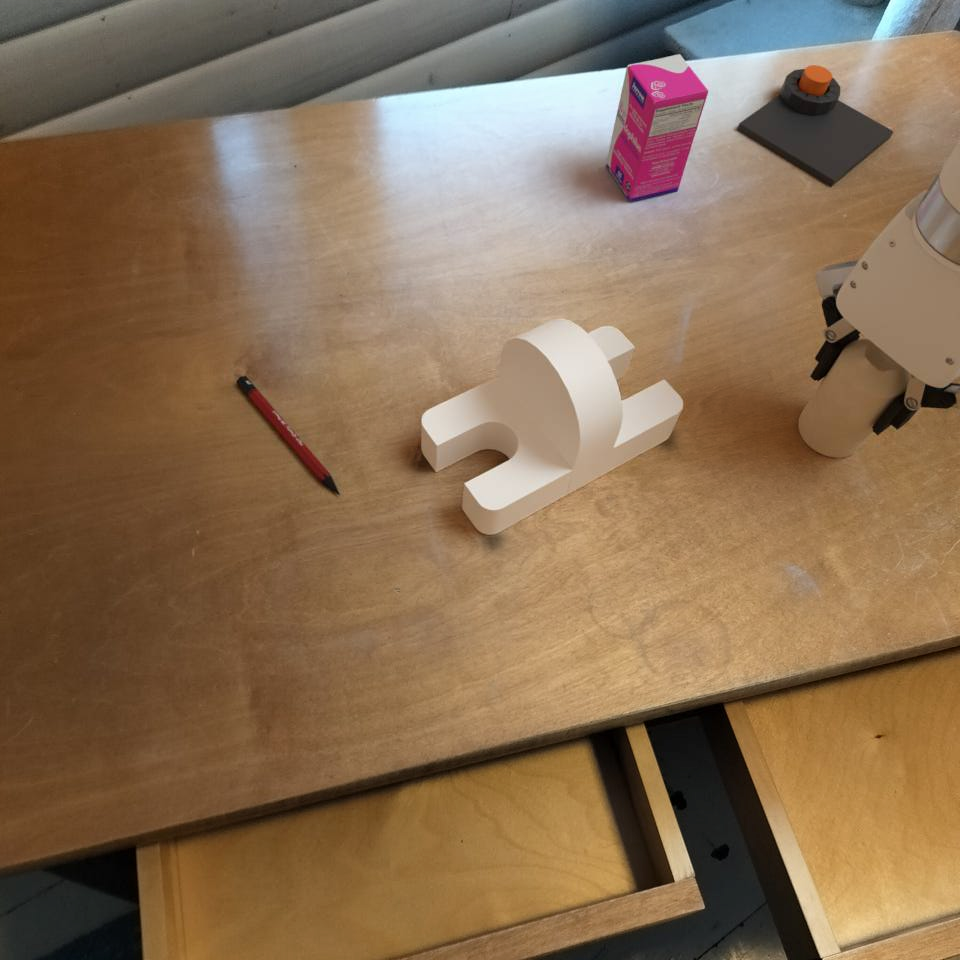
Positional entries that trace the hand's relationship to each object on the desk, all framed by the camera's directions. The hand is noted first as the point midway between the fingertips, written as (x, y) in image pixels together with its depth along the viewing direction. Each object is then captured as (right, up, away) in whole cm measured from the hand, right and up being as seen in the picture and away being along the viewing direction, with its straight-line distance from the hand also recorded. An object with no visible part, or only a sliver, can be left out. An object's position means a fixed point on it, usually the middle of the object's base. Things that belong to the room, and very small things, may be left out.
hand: (855, 396), depth 67 cm
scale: (+6, +31, +25) cm, 40 cm away
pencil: (-45, -4, +1) cm, 45 cm away
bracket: (-24, -3, +2) cm, 24 cm away
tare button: (+7, +36, +26) cm, 45 cm away
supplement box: (-13, +24, +19) cm, 33 cm away
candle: (0, -3, +4) cm, 5 cm away
